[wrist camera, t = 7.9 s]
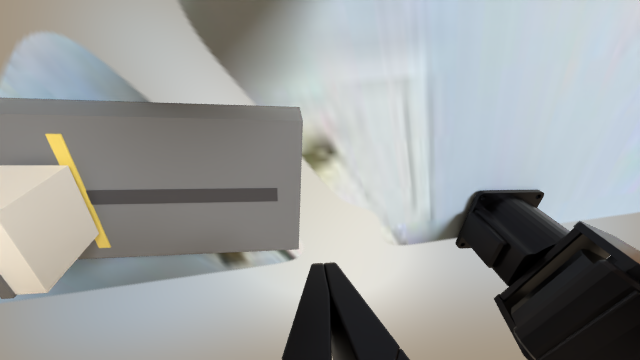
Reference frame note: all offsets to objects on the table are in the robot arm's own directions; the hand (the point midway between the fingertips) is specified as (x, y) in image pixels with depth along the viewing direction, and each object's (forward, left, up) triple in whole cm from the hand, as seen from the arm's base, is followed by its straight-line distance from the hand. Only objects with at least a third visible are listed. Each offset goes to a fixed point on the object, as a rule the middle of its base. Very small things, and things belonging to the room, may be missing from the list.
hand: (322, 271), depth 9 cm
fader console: (+9, +2, -12) cm, 15 cm away
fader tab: (+14, +2, -8) cm, 17 cm away
